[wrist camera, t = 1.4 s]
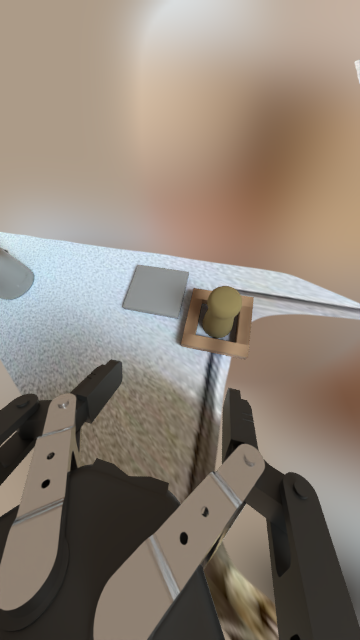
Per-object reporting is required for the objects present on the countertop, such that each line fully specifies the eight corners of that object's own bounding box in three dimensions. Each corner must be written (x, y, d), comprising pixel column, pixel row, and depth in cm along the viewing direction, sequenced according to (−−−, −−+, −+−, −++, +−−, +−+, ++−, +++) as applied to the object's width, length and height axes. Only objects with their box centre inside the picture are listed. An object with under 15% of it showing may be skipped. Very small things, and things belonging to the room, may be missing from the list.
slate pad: (124, 308, 39) (122, 306, 38) (139, 267, 42) (138, 264, 41) (178, 318, 37) (177, 316, 36) (188, 274, 41) (188, 271, 40)
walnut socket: (181, 346, 35) (181, 343, 33) (193, 292, 39) (193, 288, 37) (244, 359, 33) (247, 357, 31) (250, 302, 37) (253, 297, 35)
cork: (237, 318, 36) (255, 290, 26) (223, 343, 34) (235, 324, 24) (211, 304, 37) (217, 273, 27) (196, 328, 36) (197, 303, 26)
